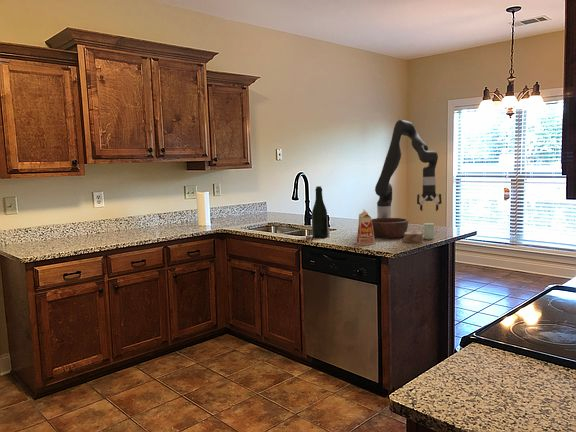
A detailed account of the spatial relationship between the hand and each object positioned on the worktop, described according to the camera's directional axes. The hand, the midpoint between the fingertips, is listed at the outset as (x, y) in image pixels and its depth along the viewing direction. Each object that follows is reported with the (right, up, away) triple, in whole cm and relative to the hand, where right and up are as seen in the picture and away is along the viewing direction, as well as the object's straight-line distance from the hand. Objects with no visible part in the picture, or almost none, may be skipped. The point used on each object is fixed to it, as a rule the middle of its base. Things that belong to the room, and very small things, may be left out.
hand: (429, 211), depth 291 cm
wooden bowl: (-22, -16, +16) cm, 31 cm away
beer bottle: (-64, -17, +22) cm, 70 cm away
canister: (+1, -17, +2) cm, 17 cm away
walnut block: (-11, -18, -5) cm, 22 cm away
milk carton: (-40, -19, -8) cm, 45 cm away
